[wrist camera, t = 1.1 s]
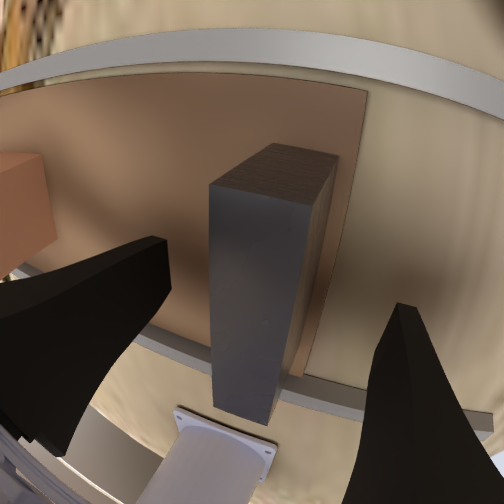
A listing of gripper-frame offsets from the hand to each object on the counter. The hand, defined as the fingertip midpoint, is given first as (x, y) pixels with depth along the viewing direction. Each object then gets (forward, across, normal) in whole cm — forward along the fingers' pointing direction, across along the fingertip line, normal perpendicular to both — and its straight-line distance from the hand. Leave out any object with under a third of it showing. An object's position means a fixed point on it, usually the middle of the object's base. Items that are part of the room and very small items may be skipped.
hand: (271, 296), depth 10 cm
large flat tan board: (+3, +10, 0) cm, 11 cm away
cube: (+2, +16, 0) cm, 16 cm away
